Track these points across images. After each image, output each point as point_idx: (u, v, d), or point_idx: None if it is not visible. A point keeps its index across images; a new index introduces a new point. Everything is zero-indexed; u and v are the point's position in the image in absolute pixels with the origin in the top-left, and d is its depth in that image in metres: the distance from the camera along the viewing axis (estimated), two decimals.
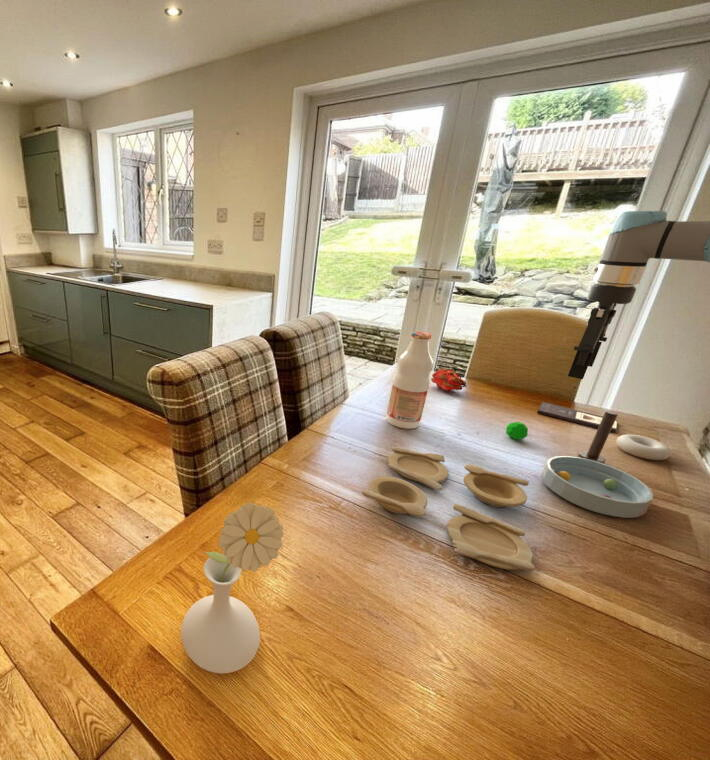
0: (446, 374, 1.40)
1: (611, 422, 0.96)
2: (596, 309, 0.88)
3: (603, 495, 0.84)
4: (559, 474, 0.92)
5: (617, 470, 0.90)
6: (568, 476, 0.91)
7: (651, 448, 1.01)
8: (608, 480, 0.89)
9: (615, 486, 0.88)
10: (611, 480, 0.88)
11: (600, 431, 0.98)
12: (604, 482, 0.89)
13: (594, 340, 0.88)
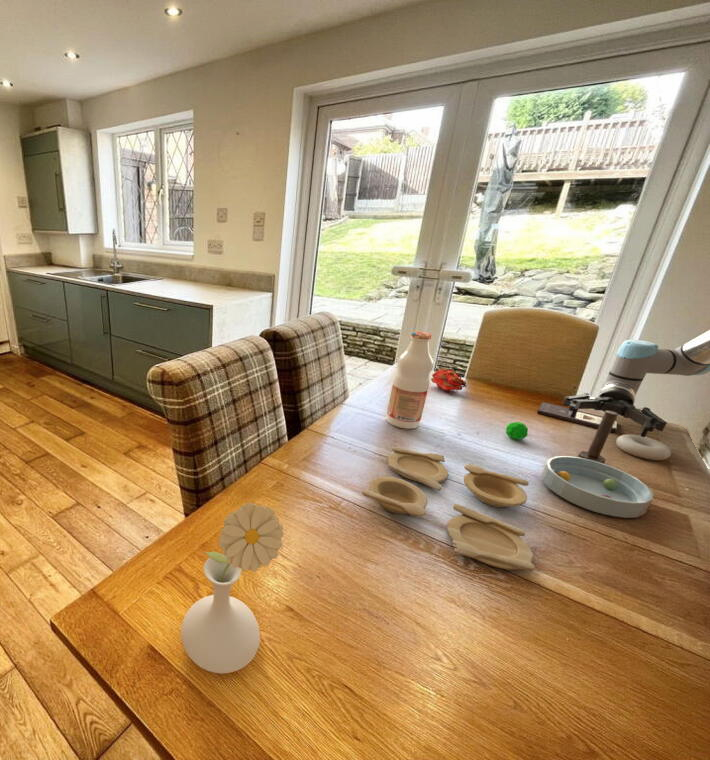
0: (446, 374, 1.40)
1: (611, 422, 0.96)
2: None
3: (603, 495, 0.84)
4: (559, 474, 0.92)
5: (617, 470, 0.90)
6: (568, 476, 0.91)
7: (651, 448, 1.01)
8: (608, 480, 0.89)
9: (615, 486, 0.88)
10: (611, 480, 0.88)
11: (600, 431, 0.98)
12: (604, 482, 0.89)
13: None
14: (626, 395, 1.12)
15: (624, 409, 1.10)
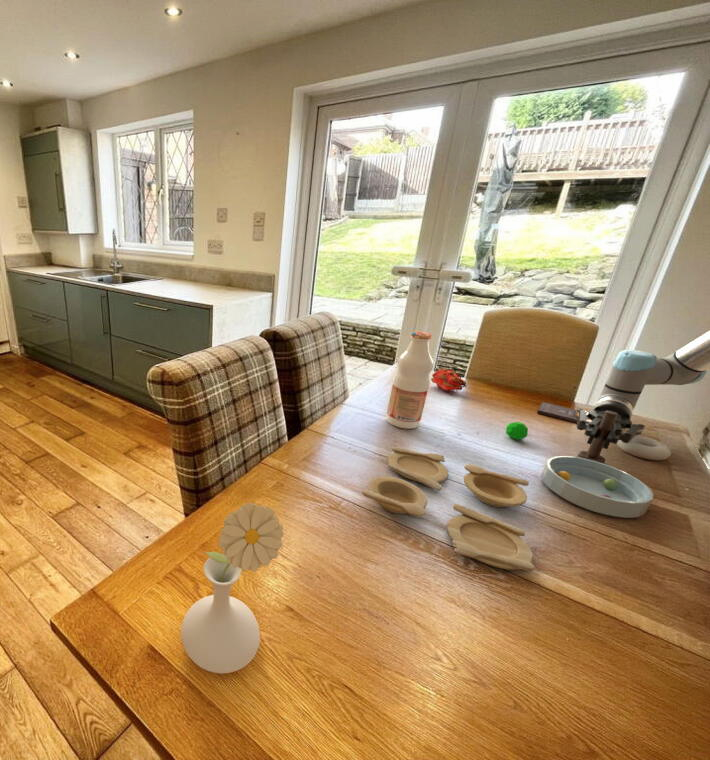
0: (446, 374, 1.40)
1: (611, 422, 0.96)
2: (575, 415, 1.10)
3: (603, 495, 0.84)
4: (559, 474, 0.92)
5: (617, 470, 0.90)
6: (568, 476, 0.91)
7: (651, 448, 1.01)
8: (608, 480, 0.89)
9: (615, 486, 0.88)
10: (611, 480, 0.88)
11: (600, 431, 0.98)
12: (604, 482, 0.89)
13: (580, 418, 1.04)
14: (622, 410, 1.04)
15: None
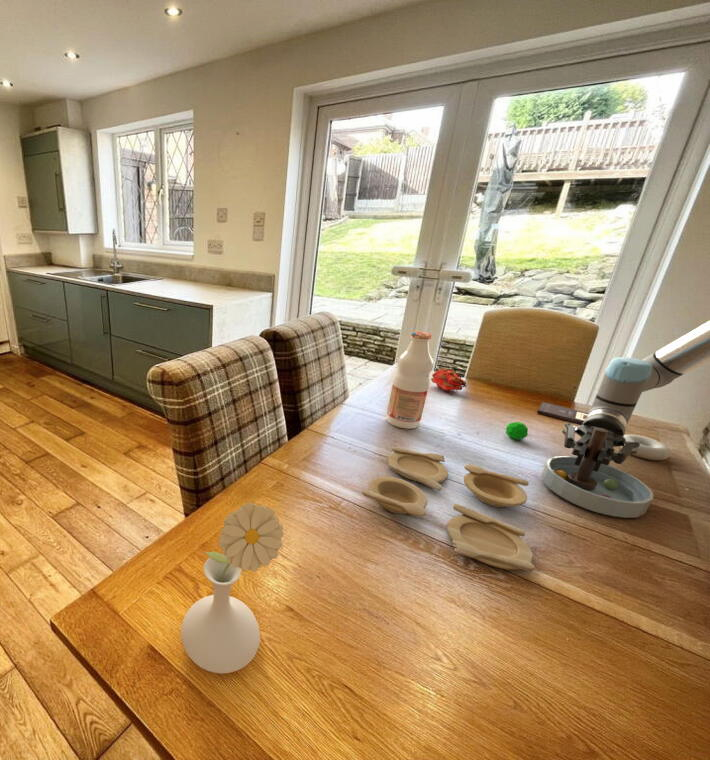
0: (446, 374, 1.40)
1: (601, 440, 0.84)
2: None
3: (603, 495, 0.84)
4: None
5: (617, 470, 0.90)
6: (563, 473, 0.91)
7: (651, 448, 1.01)
8: (608, 480, 0.89)
9: (615, 486, 0.88)
10: (611, 480, 0.88)
11: (589, 451, 0.86)
12: (604, 482, 0.89)
13: (567, 435, 0.92)
14: (615, 425, 0.93)
15: None
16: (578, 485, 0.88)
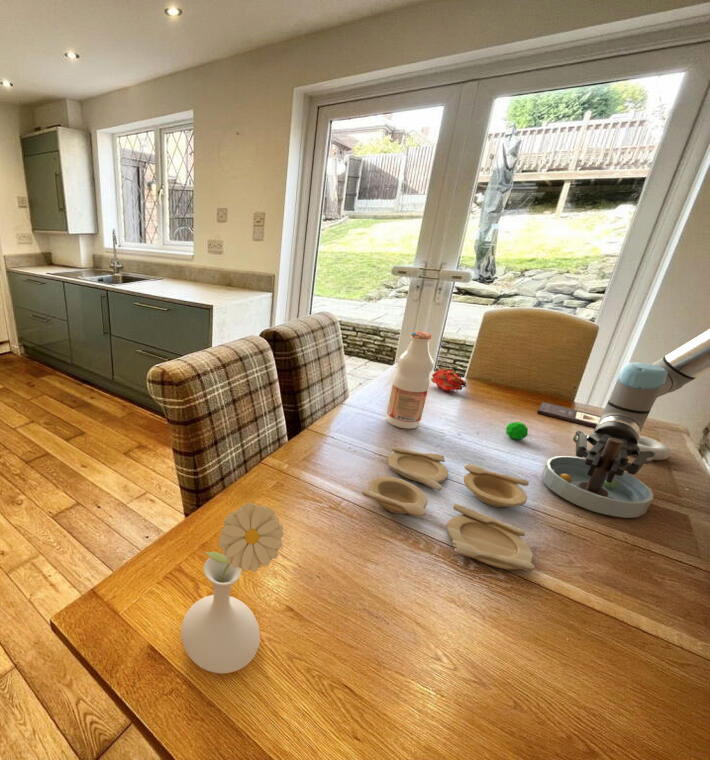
0: (446, 374, 1.40)
1: (615, 451, 0.81)
2: (573, 438, 0.95)
3: None
4: (561, 475, 0.91)
5: None
6: (567, 481, 0.90)
7: (651, 448, 1.01)
8: None
9: (615, 486, 0.88)
10: None
11: (602, 461, 0.83)
12: (604, 482, 0.89)
13: (579, 443, 0.89)
14: (628, 433, 0.90)
15: None
16: None
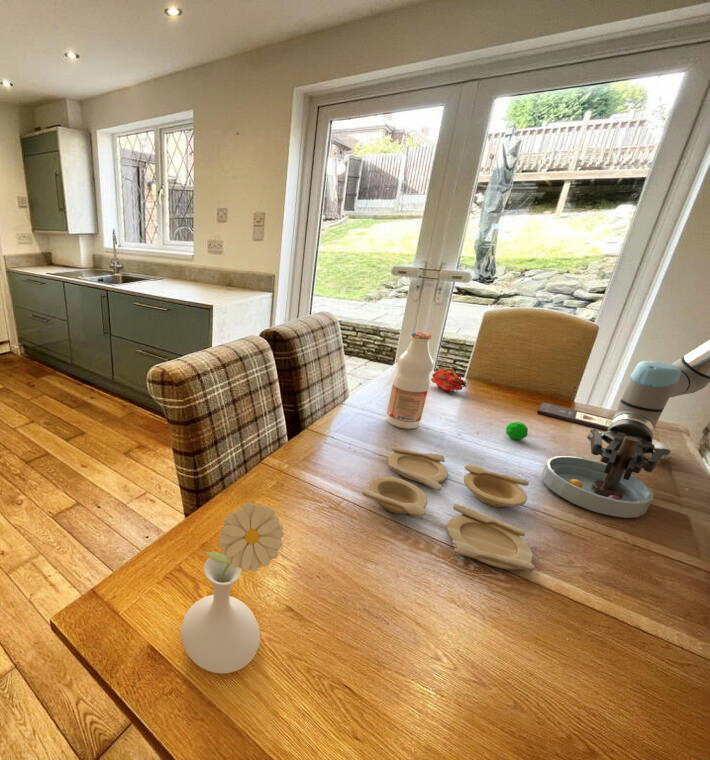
0: (446, 374, 1.40)
1: (631, 450, 0.82)
2: (588, 436, 0.96)
3: (610, 495, 0.84)
4: None
5: None
6: None
7: None
8: None
9: None
10: None
11: (617, 459, 0.84)
12: (604, 479, 0.90)
13: (594, 441, 0.90)
14: (643, 431, 0.91)
15: None
16: (603, 493, 0.86)
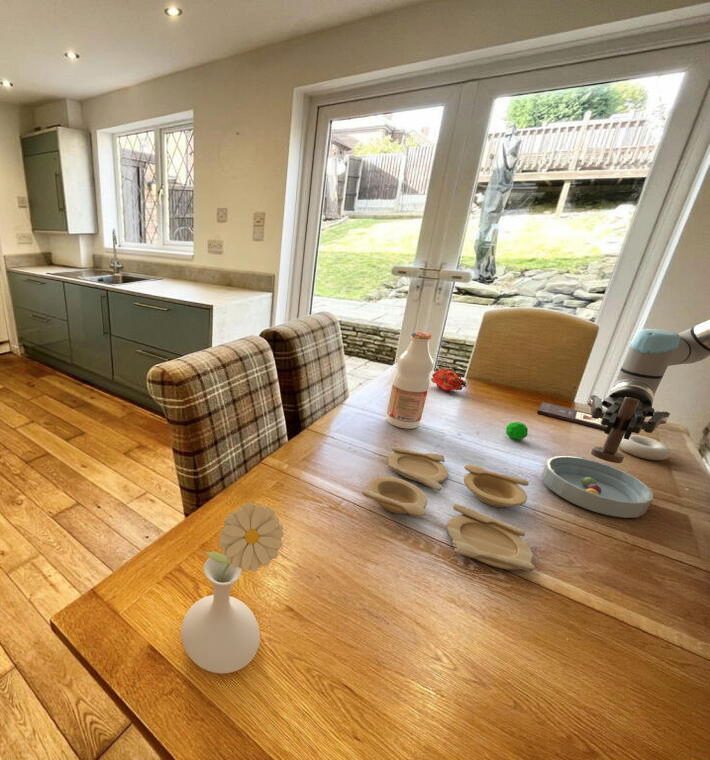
0: (446, 374, 1.40)
1: (631, 409, 0.83)
2: (588, 402, 0.96)
3: None
4: None
5: (617, 470, 0.90)
6: (589, 490, 0.85)
7: (651, 448, 1.01)
8: None
9: None
10: None
11: (618, 420, 0.85)
12: None
13: (594, 406, 0.91)
14: (643, 395, 0.91)
15: None
16: (602, 456, 0.86)
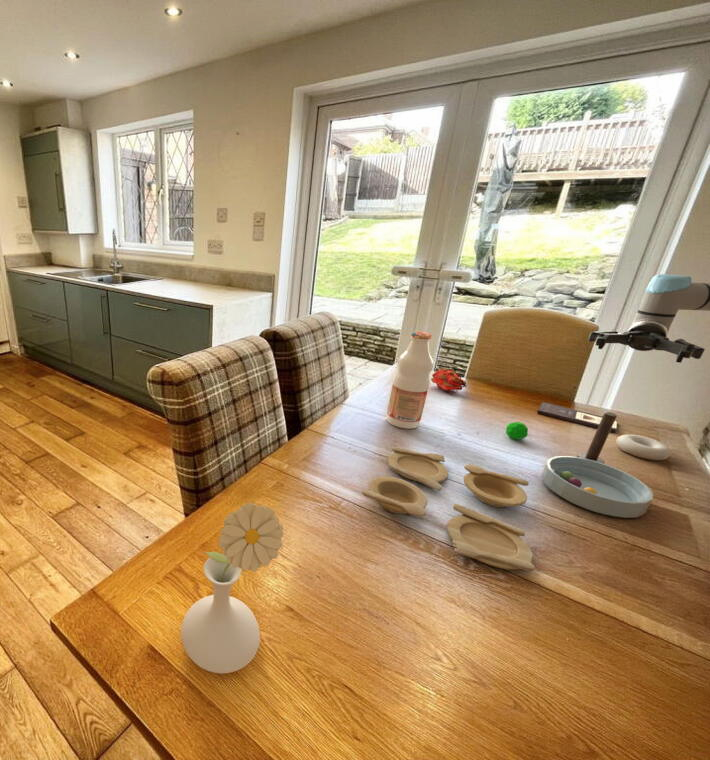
0: (446, 374, 1.40)
1: (609, 424, 0.95)
2: None
3: (572, 479, 0.89)
4: None
5: (617, 470, 0.90)
6: (586, 489, 0.86)
7: (651, 448, 1.01)
8: (567, 475, 0.91)
9: None
10: (564, 475, 0.91)
11: (598, 432, 0.97)
12: (571, 475, 0.91)
13: None
14: (658, 328, 1.05)
15: (656, 341, 1.02)
16: None
